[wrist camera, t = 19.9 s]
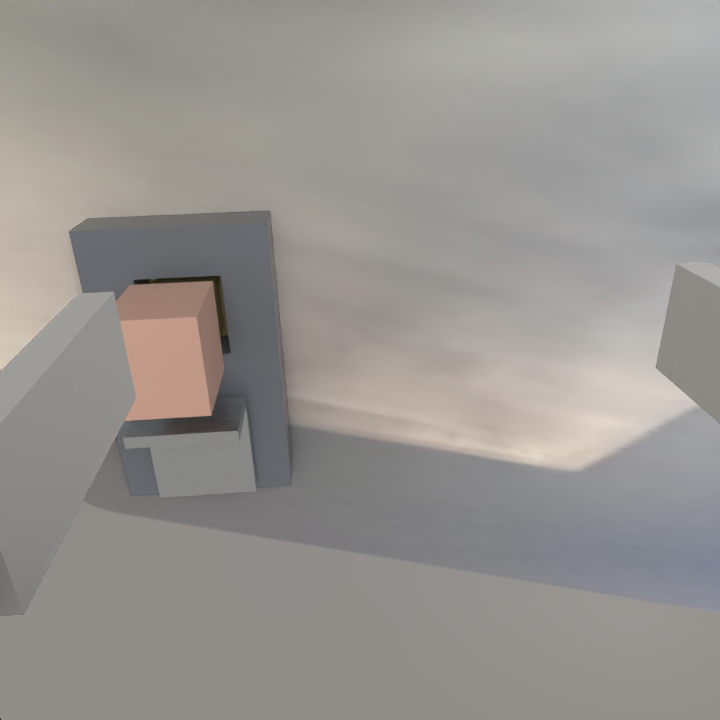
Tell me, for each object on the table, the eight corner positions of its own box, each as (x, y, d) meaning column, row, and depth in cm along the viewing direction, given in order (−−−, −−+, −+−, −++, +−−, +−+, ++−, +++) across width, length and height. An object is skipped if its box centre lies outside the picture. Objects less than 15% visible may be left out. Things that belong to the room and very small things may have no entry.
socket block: (87, 218, 41) (69, 231, 38) (270, 210, 42) (266, 222, 38) (141, 468, 50) (130, 496, 46) (292, 458, 50) (291, 485, 47)
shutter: (143, 396, 43) (122, 437, 38) (245, 390, 43) (238, 430, 38) (162, 491, 46) (145, 539, 41) (257, 484, 46) (251, 531, 42)
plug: (148, 261, 42) (99, 321, 32) (222, 258, 42) (196, 316, 32) (163, 342, 45) (121, 421, 35) (233, 338, 45) (211, 415, 35)
